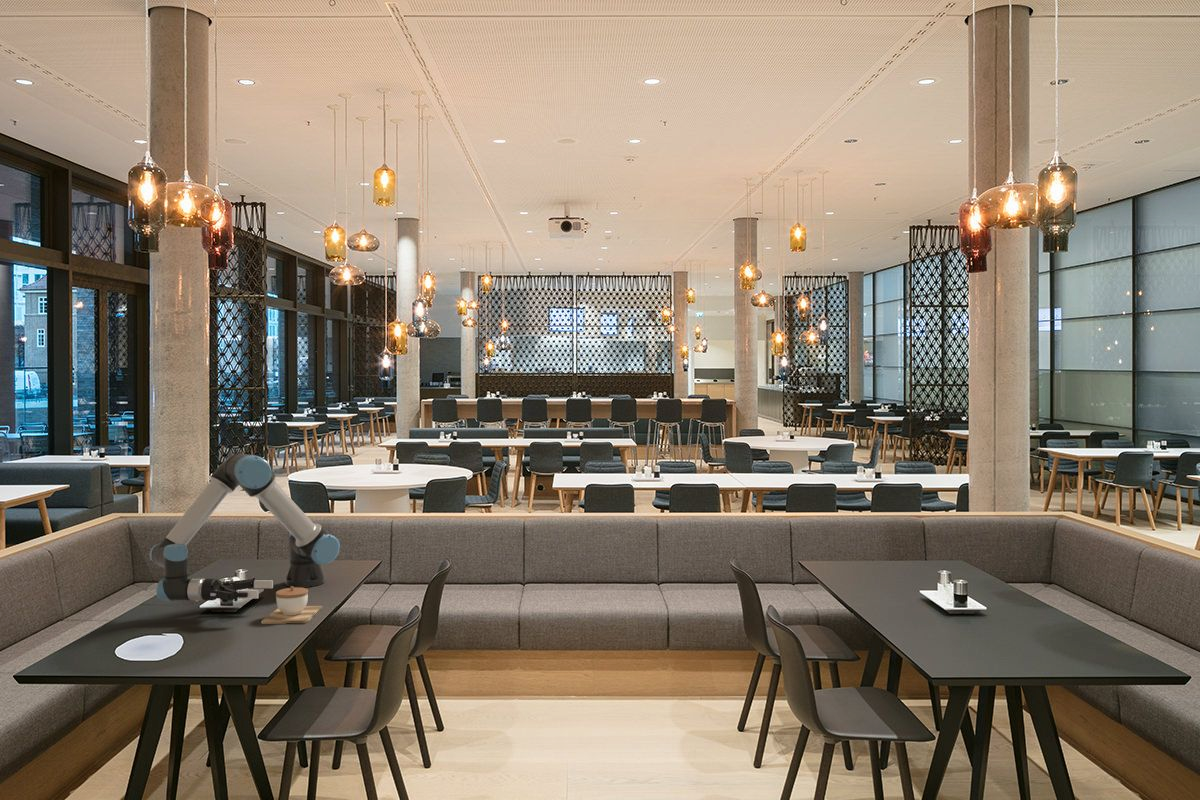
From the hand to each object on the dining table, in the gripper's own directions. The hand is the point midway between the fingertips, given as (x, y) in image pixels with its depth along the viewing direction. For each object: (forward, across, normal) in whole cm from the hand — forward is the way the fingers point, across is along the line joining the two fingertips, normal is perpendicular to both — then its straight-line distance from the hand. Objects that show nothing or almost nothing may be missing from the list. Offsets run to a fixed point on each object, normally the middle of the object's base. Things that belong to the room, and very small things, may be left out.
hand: (265, 589), depth 305 cm
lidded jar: (+9, 0, -9) cm, 13 cm away
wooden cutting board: (+9, 0, -10) cm, 13 cm away
